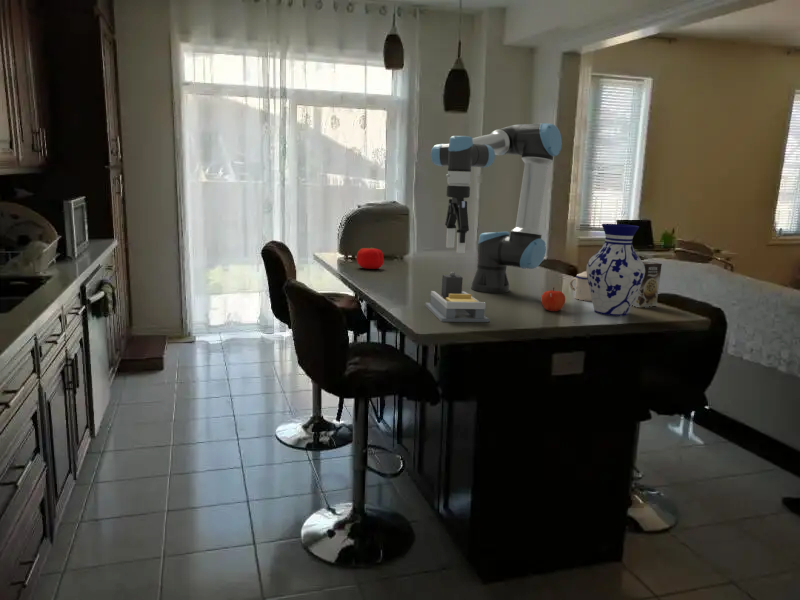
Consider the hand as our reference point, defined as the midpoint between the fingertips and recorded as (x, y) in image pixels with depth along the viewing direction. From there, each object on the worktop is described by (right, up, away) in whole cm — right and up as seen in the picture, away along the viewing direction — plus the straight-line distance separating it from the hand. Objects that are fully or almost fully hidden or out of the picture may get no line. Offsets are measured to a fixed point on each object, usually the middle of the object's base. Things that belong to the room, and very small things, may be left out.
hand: (455, 250), depth 212 cm
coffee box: (+71, -19, +24) cm, 77 cm away
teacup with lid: (+52, -16, +34) cm, 64 cm away
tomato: (-32, -2, +87) cm, 93 cm away
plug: (-1, -18, +1) cm, 19 cm away
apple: (+34, -20, +8) cm, 40 cm away
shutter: (+1, -18, -13) cm, 22 cm away
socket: (0, -21, -5) cm, 21 cm away
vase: (+54, -21, +8) cm, 59 cm away
